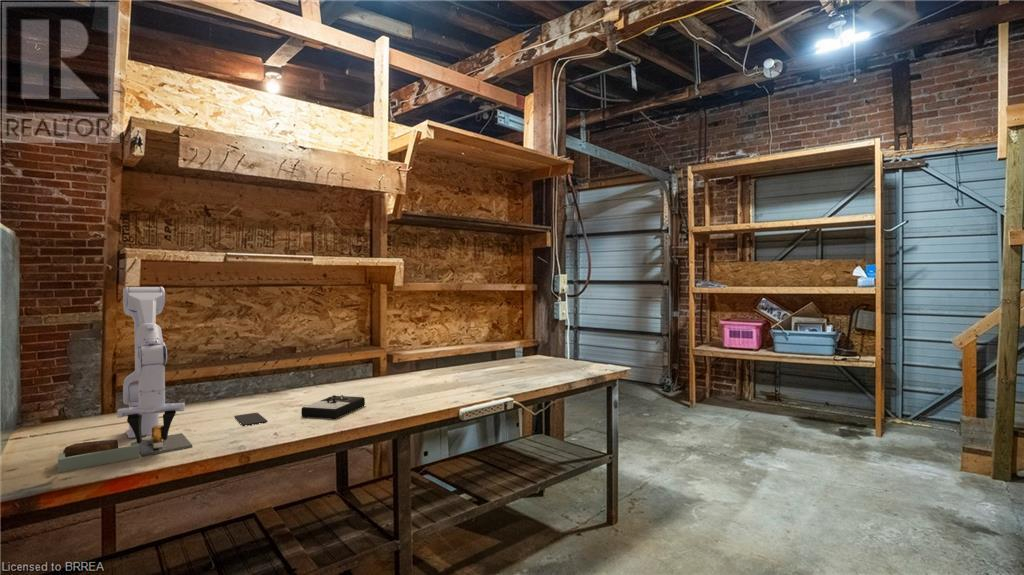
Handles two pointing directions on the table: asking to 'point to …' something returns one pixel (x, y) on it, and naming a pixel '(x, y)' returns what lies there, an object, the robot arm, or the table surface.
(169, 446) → the plate
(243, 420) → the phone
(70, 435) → the table surface
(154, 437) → the crank
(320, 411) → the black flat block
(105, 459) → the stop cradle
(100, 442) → the brick
